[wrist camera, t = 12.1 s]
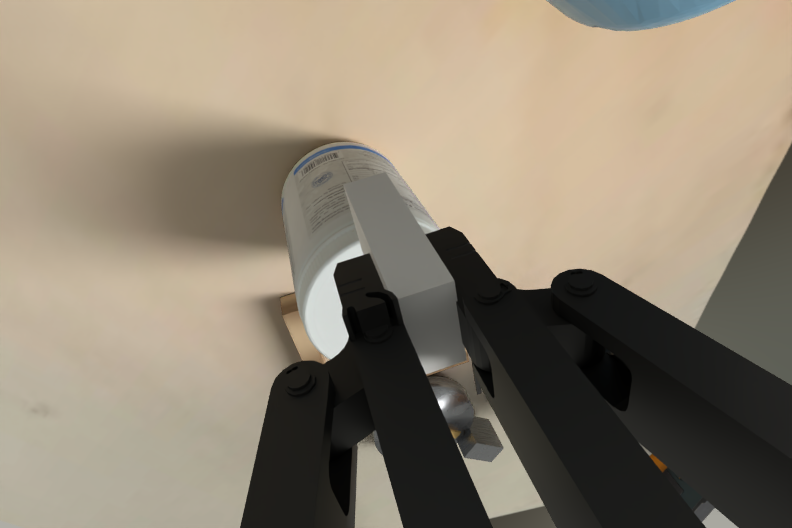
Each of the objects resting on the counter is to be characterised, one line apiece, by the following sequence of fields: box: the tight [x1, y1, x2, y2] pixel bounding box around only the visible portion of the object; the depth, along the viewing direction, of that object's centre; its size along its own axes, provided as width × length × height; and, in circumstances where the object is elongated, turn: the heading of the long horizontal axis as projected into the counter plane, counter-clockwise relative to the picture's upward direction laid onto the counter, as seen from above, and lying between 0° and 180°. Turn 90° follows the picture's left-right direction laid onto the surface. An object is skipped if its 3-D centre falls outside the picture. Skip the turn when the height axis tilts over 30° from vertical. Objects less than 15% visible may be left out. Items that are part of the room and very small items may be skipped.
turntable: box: [372, 376, 503, 462], centre depth 52 cm, size 15×11×4 cm
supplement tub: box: [281, 142, 440, 360], centre depth 32 cm, size 10×10×15 cm
